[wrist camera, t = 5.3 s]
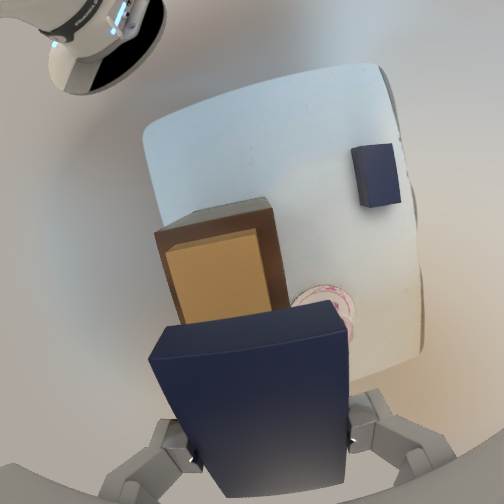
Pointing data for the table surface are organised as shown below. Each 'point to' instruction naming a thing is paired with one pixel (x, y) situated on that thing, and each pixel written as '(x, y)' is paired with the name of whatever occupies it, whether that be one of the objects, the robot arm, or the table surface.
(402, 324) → the table surface
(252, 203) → the book stand
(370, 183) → the navy books
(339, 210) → the table surface
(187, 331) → the navy book
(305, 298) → the teacup
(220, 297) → the tan books
